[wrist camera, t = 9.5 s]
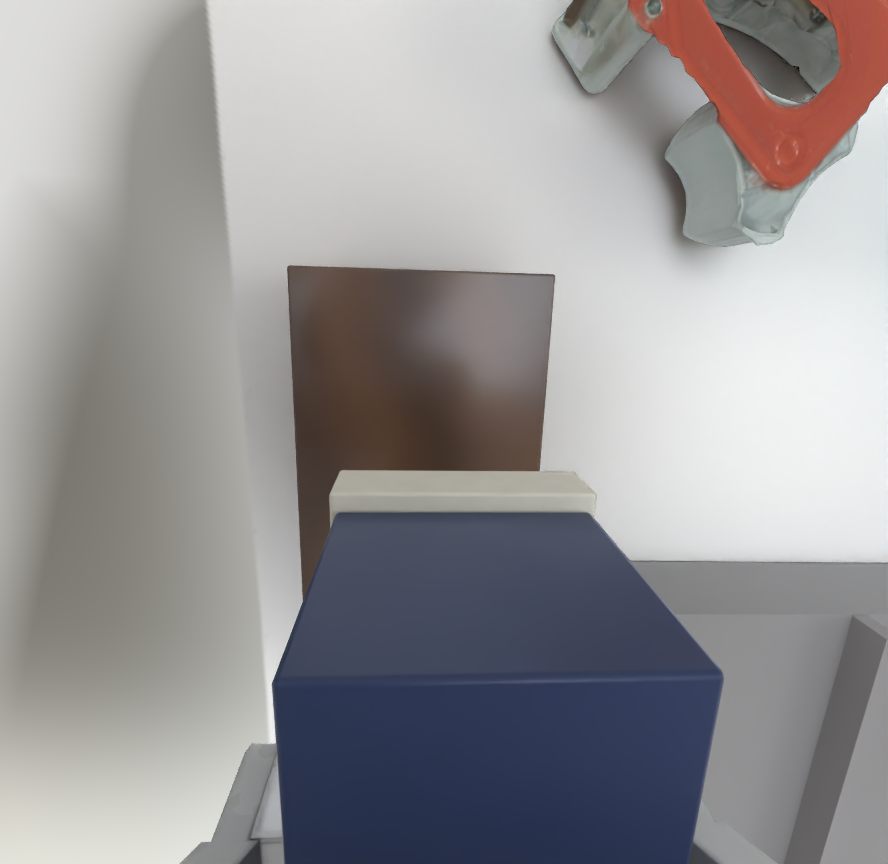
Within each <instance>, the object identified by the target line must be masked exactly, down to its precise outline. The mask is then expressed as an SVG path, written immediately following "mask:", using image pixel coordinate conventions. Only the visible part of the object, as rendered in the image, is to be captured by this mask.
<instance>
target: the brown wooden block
mask: <svg viewBox="0 0 888 864" xmlns="http://www.w3.org/2000/svg"><path fill="white" fill-rule="evenodd" d="M287 272H288V294H289V315H290V336H291V358H292V379H293V400H294V422H295V443H296V464H297V486H298V507H299V528H300V550H301V571H302V592H303V600H304V598H305V595H306V592H307V590H308V587H309V584H310V582H311V579H312V576H313V574H314V571H315V568H316V566H317V563H318V560H319V558H320V555H321V552H322V550H323V547H324V544H325V542H326V539H327V537H328V534H329V531H330V502H329V495H330V492H331V490H332V488H333V486H334V483H335V481H336V479H337V477H338V475H339V472H340V471H342V470H381V471H540V458H541V446H542V433H543V421H544V408H545V396H546V383H547V371H548V359H549V346H550V334H551V321H552V309H553V296H554V284H555V275H553V274H528V273H498V272H469V271H439V270H410V269H380V268H351V267H321V266H292V265H289V266H288V267H287Z"/></svg>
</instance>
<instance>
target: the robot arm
mask: <svg viewBox="0 0 888 864" xmlns="http://www.w3.org/2000/svg"><path fill="white" fill-rule="evenodd" d="M180 864H285V863H284V848H283V834H282V820H281V806H280V792H279V777H278V763H277V749H276V744H251V745H250V746H249V748H248V749H247V750H246V752H245V754H244V757H243V759H242V762H241V765H240V767H239V770H238V772H237V775H236V778H235V780H234V783H233V785H232V788H231V791H230V793H229V796H228V799H227V802H226V804H225V807H224V809H223V812H222V814H221V817H220V820H219V822H218V825H217V828H216V830H215V833H214V835H213V838H212V841H211V842H202V843H200V844H199V845H198V846H197V847H196V848H195V849H194V850H193V851H192V852H191V853H190V854H189V855H188V856H187V857H186V858H185V859H184V860H183V861H182V862H181V863H180ZM689 864H778V863H776V862H775V861H774V860H773V859H771V858H770V857H769V856H767V855H766V854H765V853H764V852H762V851H761V850H760V849H759V848H757V847H756V846H755V845H753V844H752V843H751V842H750V841H748V840H747V839H746V838H744V837H743V836H742V835H741V834H739V833H738V832H737V831H736V830H734V829H733V828H732V827H730V826H729V825H728V824H727V823H725V822H715V820H714V818H713V817H712V815H711V813H710V811H709V810H708V808H707V806H706V805H705V803H704V801H703V800H702V798H701V803H700V808H699V813H698V819H697V824H696V829H695V834H694V839H693V845H692V850H691V855H690V860H689Z"/></svg>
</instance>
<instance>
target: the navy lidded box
mask: <svg viewBox="0 0 888 864" xmlns="http://www.w3.org/2000/svg"><path fill="white" fill-rule="evenodd" d="M329 502H330V531H329V534H328V537H327V539H326V542H325V544H324V547H323V550H322V552H321V555H320V558H319V560H318V563H317V566H316V568H315V571H314V574H313V576H312V579H311V582H310V584H309V587H308V590H307V592H306V595H305V598H304V600H303V603H302V606H301V608H300V611H299V613H298V616H297V619H296V621H295V624H294V627H293V629H292V632H291V635H290V637H289V640H288V643H287V645H286V648H285V651H284V653H283V656H282V659H281V661H280V664H279V667H278V669H277V672H276V675H275V677H274V680H273V682H272V692H273V706H274V721H275V735H276V749H277V763H278V777H279V792H280V806H281V820H282V834H283V848H284V863H285V864H689V860H690V855H691V850H692V845H693V839H694V834H695V829H696V824H697V819H698V813H699V808H700V803H701V798H702V792H703V787H704V782H705V777H706V772H707V766H708V761H709V756H710V751H711V745H712V740H713V735H714V730H715V725H716V719H717V714H718V709H719V704H720V698H721V693H722V688H723V683H724V676H723V672H722V670H721V668H720V667H719V666H718V665H717V664H716V663H715V661H714V660H713V659H712V658H711V657H710V655H709V654H708V653H707V652H706V651H705V649H704V648H703V647H702V646H701V645H700V644H699V642H698V641H697V640H696V639H695V638H694V636H693V635H692V634H691V633H690V632H689V630H688V629H687V628H686V627H685V626H684V625H683V623H682V622H681V621H680V620H679V619H678V617H677V616H676V615H675V614H674V613H673V611H672V610H671V609H670V608H669V607H668V606H667V604H666V603H665V602H664V601H663V600H662V598H661V597H660V596H659V595H658V594H657V592H656V591H655V590H654V589H653V588H652V587H651V585H650V584H649V583H648V582H647V581H646V579H645V578H644V577H643V576H642V575H641V573H640V572H639V571H638V570H637V569H636V568H635V566H634V565H633V564H632V563H631V562H630V560H629V559H628V558H627V557H626V556H625V554H624V553H623V552H622V551H621V550H620V549H619V547H618V546H617V545H616V544H615V543H614V541H613V540H612V539H611V538H610V537H609V535H608V534H607V533H606V532H605V531H604V530H603V528H602V527H601V526H600V525H599V524H598V522H597V521H596V520H595V519H594V513H595V503H596V493H595V492H594V491H593V490H592V489H591V488H590V487H589V486H588V485H587V484H586V483H585V482H584V481H583V480H582V479H581V478H580V477H579V476H578V475H577V474H576V473H575V472H566V471H381V470H342V471H340V472H339V475H338V477H337V479H336V481H335V483H334V486H333V488H332V490H331V492H330V495H329Z"/></svg>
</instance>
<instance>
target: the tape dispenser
mask: <svg viewBox="0 0 888 864" xmlns="http://www.w3.org/2000/svg"><path fill="white" fill-rule="evenodd" d="M715 22H717V23H720V24H723V25H726V26H729V27H732V28H735V29H737V30H739V31H741V32H743V33H746V34H748V35H750V36H752V37H754V38H755V39H757V40H758V41H760V42H762V43H763V44H765V45H766V46H768V47H769V48H771V49H772V50H773V51H775V52H776V53H778V54H779V55H780V56H781V57H782V58H784V59H785V60H786V61H787V62H788V63H789V64H790V65H793V66H798V67H799V69H800V75H801V76H802V77H803V78H804V79H805V80H806V82H807V83H808V84H809V85H810V86H811V87H812V89H813V90H814V91H816V92H817V94H816V95H815V96H814V97H813V98H812V99H811V100H810V101H809V102H807V103H797V102H793V101H789V100H786V99H783V98H781V97H778V96H776V95H773V94H771V93H770V92H769V91H767V90H766V89H764V88H763V87H762V86H761V85H760V84H759V82H758V81H757V80H756V78H755V77H754V76H753V75H752V73H751V72H750V71H749V70H748V69H747V68H746V67H744V66H743V64H742V62H741V61H740V59H739V57H738V56H737V54H736V53H735V51H734V50H733V48H732V47H731V46H730V44H729V43H728V41H727V40H726V38H725V37H724V35H723V33H722V31H721V29H720V28H719V26H718V25H717V24H716V23H715ZM552 34H553V37H554V40H555V41H556V43H557V45H558V46H559V48H560V49H561V51H562V53H563V54H564V56H565V58H566V59H567V61H568V62H569V64H570V66H571V67H572V69H573V71H574V73H575V74H576V76H577V78H578V79H579V81H580V83H581V85H582V86H583V88H584V89H585V90H586V91H587V92H589V93H592V94H597V93H602V92H603V91H604V90H605V89H606V88H607V87H608V86H609V84H610V83H611V82H612V81H613V80H614V79H615V78H616V76H617V75H618V74H619V73H620V72H621V71H622V70H623V69H624V67H625V66H626V65H627V64H628V63H629V62H630V61H631V60H632V58H633V57H634V56H635V55H636V54H637V53H638V52H639V51H640V49H641V48H642V47H643V46H644V45H645V44H646V43H647V42H648V40H649V39H650V38H651V37H652V36H653V35H655V37H656V39H657V40H658V42H659V43H661V44H663V45H665V46H667V47H668V48H669V51H670V53H671V56H673V57H677V58H680V59H681V61H682V63H683V64H684V67H685V71H686V72H687V73H688V74H689V75H690V76H692V77H693V78H694V79H695V80H696V82H697V83H698V84H699V86H700V87H701V88H702V89H703V91H704V92H705V94H706V95H707V97H708V98H709V101H710V102H709V103H707V104H705V105H704V106H702V107H701V108H700V109H698V110H697V111H696V112H695V113H694V114H693V115H692V116H691V117H690V118H689V119H688V120H687V121H686V122H685V123H684V124H683V126H682V127H681V128H680V129H679V131H678V132H677V133H676V135H675V136H674V138H673V139H672V141H671V143H670V145H669V147H668V148H667V150H666V152H665V159H666V160H667V161H668V162H669V163H670V164H671V166H672V167H673V168H674V170H675V171H676V172H677V174H678V175H679V177H680V179H681V181H682V184H683V186H684V189H685V192H686V216H685V221H684V225H683V230H682V232H683V235H684V236H686V237H687V238H689V239H692V240H694V241H696V242H700V243H703V244H707V245H711V246H722V247H727V246H734V245H740V244H745V243H751V242H754V243H755V245H756V246H757V245H765V244H772V243H774V242H776V241H778V240H779V239H781V238H782V237H783V236H784V229H785V227H786V225H787V223H788V221H789V219H790V217H791V215H792V214H793V212H794V210H795V208H796V206H797V205H798V203H799V201H800V199H801V198H802V196H803V195H804V193H805V192H806V191H807V189H808V188H809V187H810V185H811V184H812V183H813V182H814V181H815V180H816V178H817V177H818V176H819V175H820V174H821V173H822V172H823V171H825V170H826V169H827V168H828V167H830V166H831V165H833V164H834V163H835V162H837V161H838V160H840V159H841V158H843V157H845V156H847V155H848V154H849V153H850V152H851V150H852V147H853V145H854V142H855V138H856V134H857V129H858V122H857V121H858V120H859V119H860V117H861V116H862V115H863V114H865V113H866V111H867V109H868V107H869V104H870V102H871V101H872V100H873V99H874V98H875V97H876V96H877V95H878V94H879V92H880V91H881V89H882V87H883V86H885V85H886V84H887V83H888V0H573V2H572V3H571V4H570V6H569V7H568V8H567V10H566V12H565V13H564V14H563V15H562V16H561V17H560V18H559V19H558V20H557V21H556V23H555V24H554V26H553V28H552Z"/></svg>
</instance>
